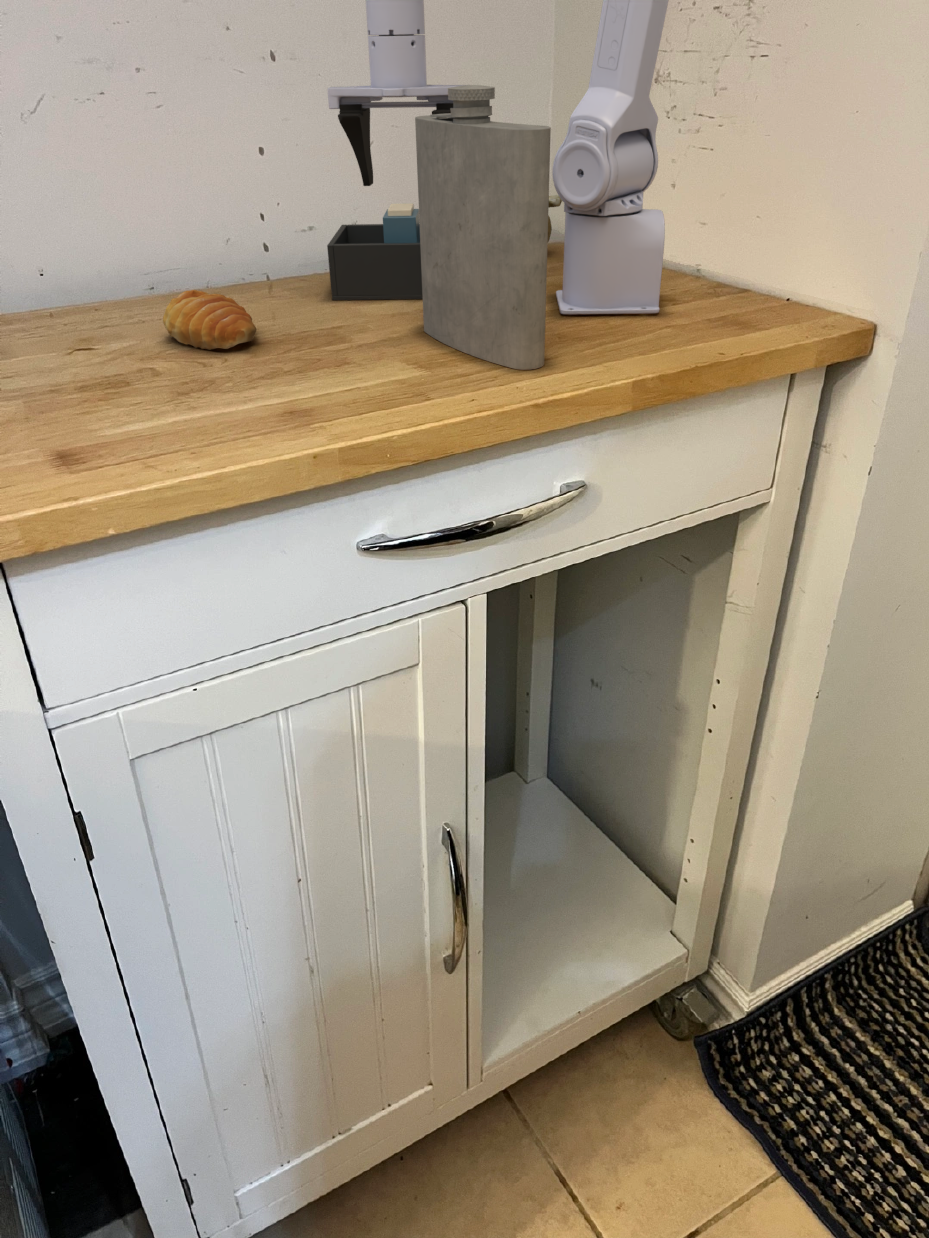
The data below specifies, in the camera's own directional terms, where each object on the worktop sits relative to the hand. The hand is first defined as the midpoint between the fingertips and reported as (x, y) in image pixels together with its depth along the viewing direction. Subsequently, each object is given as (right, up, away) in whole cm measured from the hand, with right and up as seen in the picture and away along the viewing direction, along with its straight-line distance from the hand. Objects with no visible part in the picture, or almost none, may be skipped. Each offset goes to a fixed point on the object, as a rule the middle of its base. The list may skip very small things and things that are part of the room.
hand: (403, 185), depth 101 cm
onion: (+13, -3, +13) cm, 19 cm away
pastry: (-16, -21, -15) cm, 30 cm away
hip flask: (+8, -23, -18) cm, 30 cm away
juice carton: (0, -10, +1) cm, 10 cm away
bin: (0, -11, +1) cm, 11 cm away
